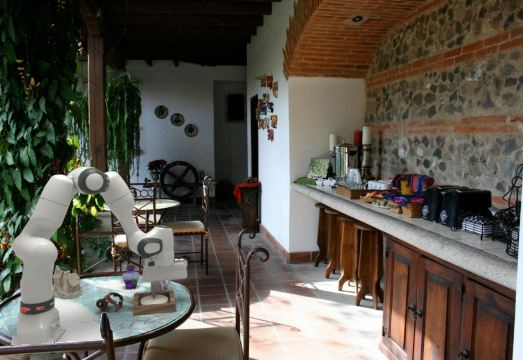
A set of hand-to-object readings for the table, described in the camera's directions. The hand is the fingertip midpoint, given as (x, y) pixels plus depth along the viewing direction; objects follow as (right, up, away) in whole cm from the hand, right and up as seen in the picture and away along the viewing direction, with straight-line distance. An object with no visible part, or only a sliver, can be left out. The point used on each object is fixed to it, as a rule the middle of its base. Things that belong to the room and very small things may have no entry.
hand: (165, 289), depth 210 cm
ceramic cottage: (-49, -5, +12) cm, 51 cm away
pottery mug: (-23, -7, -8) cm, 26 cm away
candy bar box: (-6, -5, +12) cm, 14 cm away
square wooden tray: (-4, -7, -5) cm, 9 cm away
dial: (-4, -5, -5) cm, 8 cm away
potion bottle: (-22, -4, +20) cm, 29 cm away
